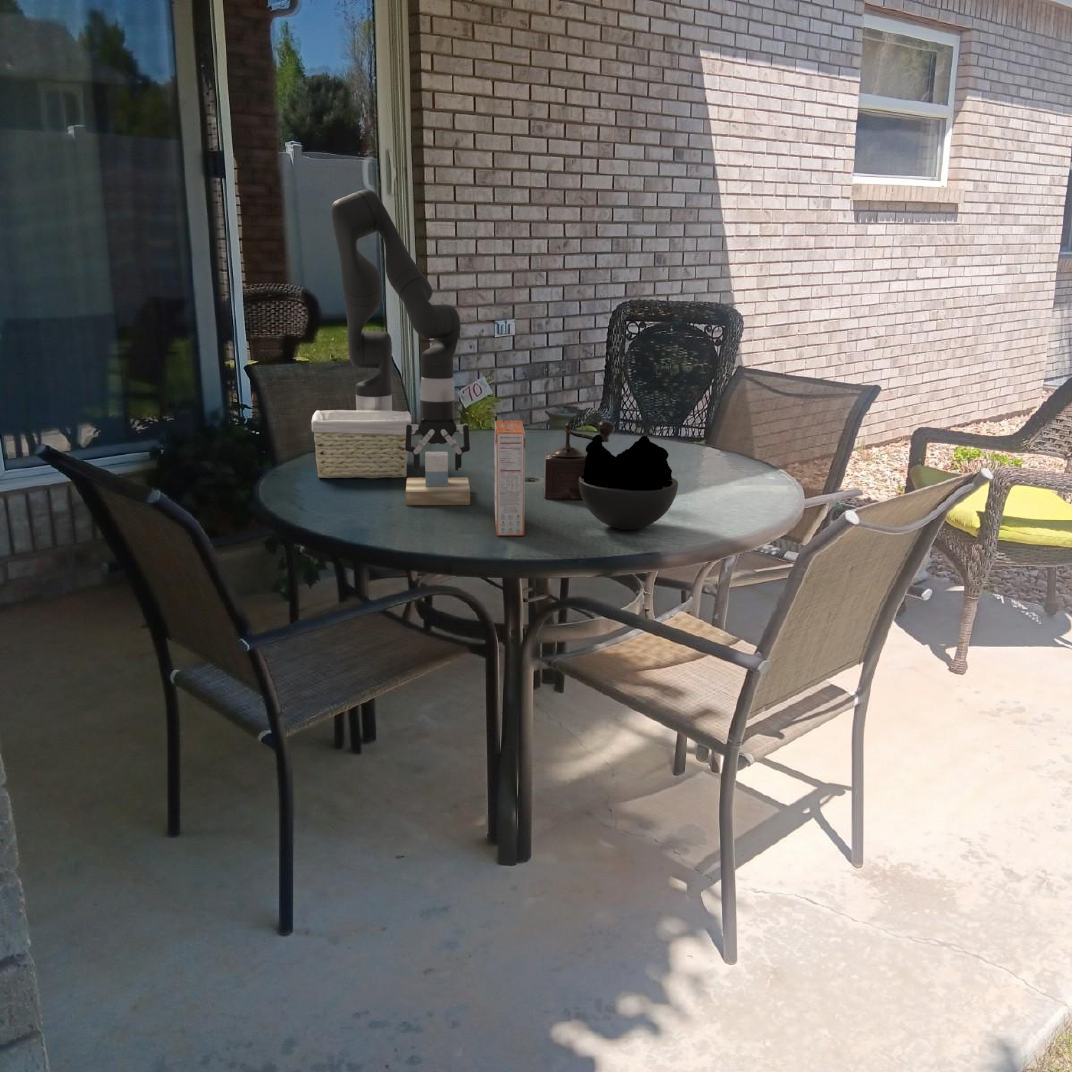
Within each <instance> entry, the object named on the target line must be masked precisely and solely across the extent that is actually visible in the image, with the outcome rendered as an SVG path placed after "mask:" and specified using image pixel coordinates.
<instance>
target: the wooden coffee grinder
mask: <svg viewBox="0 0 1072 1072" xmlns="http://www.w3.org/2000/svg"><path fill="white" fill-rule="evenodd" d="M597 426H598V427H597V428H598V431H599V433H598V435H601V436H602V443H608V442H610V439H609V437H610V435H611V434H613V433H614V432H615V429H616V427H615V424H613V422H611V421H609V420H605V419H604V420H602V421H600V422H599V423H598V425H597ZM571 427H572V425H571V423H566V424H565V430H564V433H565V444H564V445H563V446H560V447H558V448H556V449H555V450H545V452H544V469H543V470H544V471H543V488H542V490H543V498H544V499H545V500H565V501H566V500H567V501H569V500H583V499H582V496H581V493H580V489H579V478H580V476H582V475H584V467H585V459H586V455H587V452H586V451H581V450H580V449H578V448H577V447H576V446H575V447H574V446H571V443H570V440H571V436H573V437H576V438H581V439H586V440H590V441H592V439H593V437H594V436H592V435H588V434H586V433H578V432H574V431H572V429H571Z"/></svg>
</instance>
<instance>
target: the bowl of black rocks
mask: <svg viewBox="0 0 1072 1072" xmlns="http://www.w3.org/2000/svg"><path fill="white" fill-rule="evenodd" d="M650 440H651V439H650V438H649V437H648V435H642V436H640V438H639V439H638V440H637V441H634V443H633V444H632V445H631V446H630V447H629V448H627V449H624V450H623V451H622V452H620V453H617V454H616V456H615V455H614V454H612V453H611V451H609V450H608V449H607V448H606V447H605V446H604V445H603V442H602V436H601V435H599V434H596V435H594V436H593V439H592V440H591V441H590V442H589V443H588V444H587V445H586V446H585V447H586V448H585V449H584V452H587V455H586V459H585V467H584V475H582V476H580V478H579V489H580V493H581V496H582V499H581V500H582V501H583V503H584V505H585V507H586V508H587V510H588V511H589V512H590V513H591V515H592V516H594V517H595V518H596V519H597V520H599V521H600V522H602V523H603V524H605V525H606V526H609V527H611V528H615V529H617V530H618V529H619V530H627V531H628V530H637V529H643V528H646V527H648V526H650V525H652V524H653V523H655V522H657V521H659V520H660V519H661V518H662V517H663V516H664V515H665V514H666V513H667V512H668V511H669V510H670V508H671V506H672V504H673V503H674V501H675V499H676V496H677V492H678V488H679V481H678V480H677V479H675V477H673V476H672V473H673V470H672V468H671V466H670V465H669V463H668V460H667V459H668V458H669V456H670V454H669V453H668V450H666V449H665V448H664V447H662V446H659V445H658V444H657V443H654V442H652V441H650Z"/></svg>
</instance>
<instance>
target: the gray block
mask: <svg viewBox="0 0 1072 1072" xmlns="http://www.w3.org/2000/svg"><path fill="white" fill-rule="evenodd" d="M448 453H449V452H448V451H424V458H425V459H424V461H425V462H424V465H425V467H424V468H425V469H424V473H425V474H424V478H425V486H426V487H448V478H449V454H448Z"/></svg>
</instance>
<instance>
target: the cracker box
mask: <svg viewBox="0 0 1072 1072" xmlns="http://www.w3.org/2000/svg"><path fill="white" fill-rule="evenodd" d="M493 439H494V440H493V441H494V443H493V444H494V452H493V453H494V458H493V460H494V463H493V464H494V471H493V472H494V478H493V479H494V519H495V522H494V523H495V534H496V537H524V536H525V513H526V512H525V510H526V509H525V499H526V498H525V492H526V491H525V489H526V487H525V484H526V483H525V482H526V480H525V479H526V478H525V477H526V476H525V475H526V432H525V428H524V425H523V421H522V420H509V419H508V420H507V419H501V420H500V419H499V420H494V438H493Z"/></svg>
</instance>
